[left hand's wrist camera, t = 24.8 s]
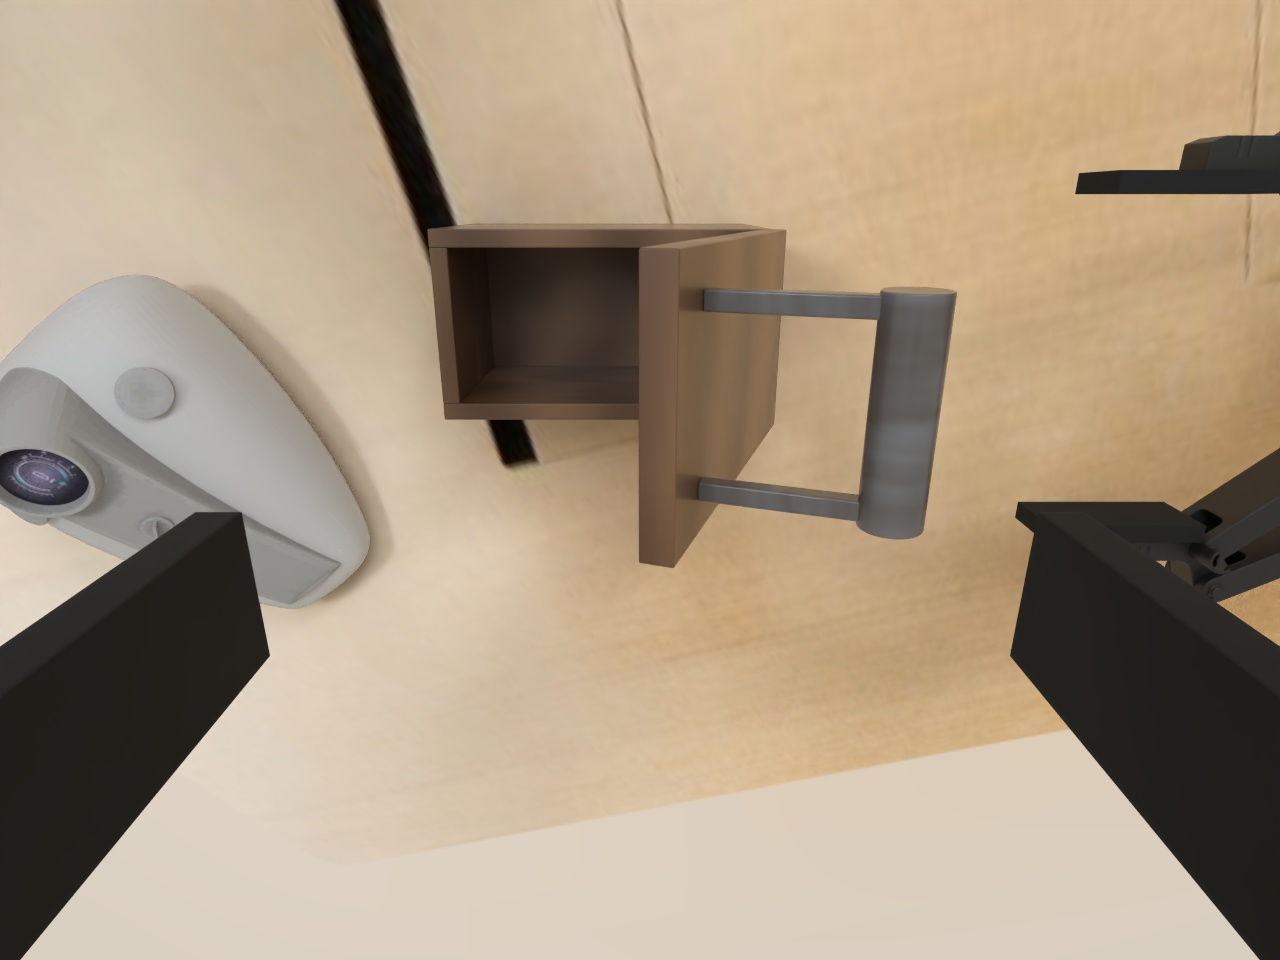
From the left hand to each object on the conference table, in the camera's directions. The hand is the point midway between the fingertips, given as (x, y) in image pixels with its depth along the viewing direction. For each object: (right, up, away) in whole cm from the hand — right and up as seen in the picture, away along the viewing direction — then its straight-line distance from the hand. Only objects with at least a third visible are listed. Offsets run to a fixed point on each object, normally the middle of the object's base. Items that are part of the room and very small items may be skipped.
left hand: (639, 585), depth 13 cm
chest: (-2, +13, +37) cm, 39 cm away
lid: (+3, +7, +18) cm, 19 cm away
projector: (-28, +4, +40) cm, 49 cm away
